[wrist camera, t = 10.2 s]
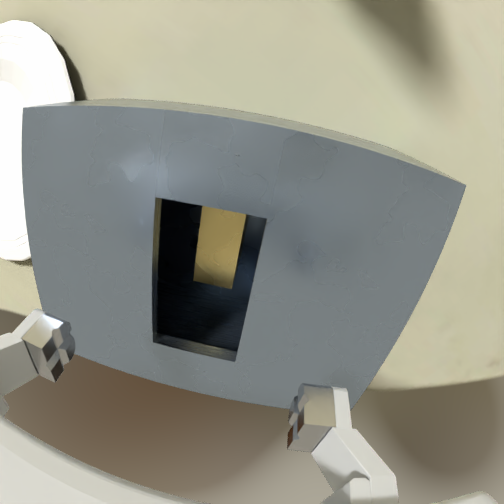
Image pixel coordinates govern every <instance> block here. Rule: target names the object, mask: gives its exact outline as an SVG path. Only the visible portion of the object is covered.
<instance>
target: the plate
mask: <svg viewBox="0 0 504 504" xmlns="http://www.w3.org/2000/svg"><path fill="white" fill-rule="evenodd" d="M72 101H76V100H75V92H74V89H73V86H72V82H71V79H70V75H69V71H68V68H67V64H66V60H65V59H64V57H63V55H62V54H61V52H60V50H59V48H58V47H57V45H56V43H55V42H54V40H53V38H52V37H51V35H49V34H48V33H46V32H45V31H44V30H42V29H41V28H40V27H38V26H37V25H36V24H34V23H32V22H25V21H17V20H12V21H9V22H5V23H2V24H0V258H2V259H5V260H13V261H24V260H27V259H29V258H31V254H30V248H29V241H28V234H27V227H26V219H25V209H24V198H23V184H22V151H21V147H22V114H23V108H24V107H30V106H37V105H45V104H53V103H62V102H72Z"/></svg>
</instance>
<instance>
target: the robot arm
mask: <svg viewBox="0 0 504 504" xmlns="http://www.w3.org/2000/svg"><path fill="white" fill-rule="evenodd" d="M71 330H72V328H71V325H70V322H67V321H65V320H63V319H61V318H58V317H56V316H54V315H52V314H49V313H47V312H45V311H42V310H40V309H35V310H33V311H32V312H31V313H30V314H29V315H28V316H27V317H26V319H25V320H24V321H23V322H22V323H21V324H20V325H19V326H18V327H17V328H16V329H15V331H14V332H13V333H12V334H11V333H6V334H4V335H1V336H0V504H208V503H204V502H199V501H195V500H190V499H186V498H182V497H178V496H175V495H171V494H167V493H164V492H160V491H157V490H154V489H151V488H148V487H145V486H141V485H139V484H136V483H133V482H130V481H127V480H124V479H122V478H119V477H116V476H114V475H111V474H109V473H106V472H104V471H102V470H99V469H97V468H95V467H92V466H90V465H88V464H86V463H84V462H81V461H79V460H77V459H75V458H73V457H71V456H69V455H67V454H65V453H63V452H61V451H59V450H57V449H55V448H54V447H52V446H50V445H48V444H46V443H45V442H42V441H41V440H39V439H38V438H36V437H34V436H32V435H31V434H29V433H27V432H26V431H24V430H23V429H21V428H20V427H18V426H16V425H15V424H13V423H12V422H10V421H9V420H7V419H6V418H4V415H5V414H6V412H7V411H8V409H9V406H8V404H7V402H6V401H5V399H4V398H3V396H4V395H5V394H7V393H9V392H11V391H12V390H14V389H16V388H18V387H19V386H21V385H23V384H25V383H26V382H28V381H30V380H32V379H33V378H35V377H37V376H38V375H41V376H43V377H45V378H47V379H49V380H51V381H53V382H56V381H57V379H58V378H59V376H60V375H61V374H62V372H63V371H64V368H63V365H64V364H66V363H68V362H70V360H71V359H72V357H73V355H74V352H75V340H74V338H73V336H72V335H71V334H70V332H71ZM288 422H289V424H290V425H291V429H290V430H289V432H288V441H287V449H288V450H295V451H303V452H312V453H311V454H312V456H313V458H314V459H315V461H316V463H317V464H318V466H319V468H320V469H321V471H322V473H323V475H324V476H325V478H326V480H327V481H328V483H329V485H330V486H331V488H332V490H333V491H334V493H333V494H332V495H331V496H329V497H328V498H326V499H325V500H324V501H322V502H321V503H320V504H399V499H398V491H397V483H396V476H395V474H394V473H393V472H392V471H391V470H390V468H388V466H387V465H386V464H385V463H384V462H383V460H382V459H381V458H380V457H379V456H378V454H377V453H376V452H375V451H374V449H373V448H372V447H371V446H370V445H369V443H368V442H367V441H366V440H365V439H364V437H363V436H362V435H361V434H360V433H359V431H358V430H357V429H353V428H352V421H351V413H350V405H349V398H348V391H347V389H346V388H339V387H331V386H323V385H315V384H307V383H302V384H301V385H300V387H299V388H298V395H297V396H295V397H294V399H293V401H292V403H291V406H290V411H289V420H288ZM431 504H499V503H497V502H496V501H495V500H494V499H493V498H492V497H491V496H490V495H488V494H487V493H486V492H484V491H478V492H474V493H470V494H467V495H463V496H460V497H456V498H452V499H448V500H444V501H440V502H436V503H431Z"/></svg>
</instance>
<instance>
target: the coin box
mask: <svg viewBox="0 0 504 504" xmlns="http://www.w3.org/2000/svg"><path fill="white" fill-rule="evenodd" d="M21 151H22V184H23V198H24V209H25V219H26V227H27V234H28V241H29V248H30V254H31V260H32V265H33V270H34V275H35V280H36V284H37V289H38V293H39V297H40V302H41V305H42V309H43V311H45V312H47V313H49V314H52V315H54V316H56V317H58V318H61V319H63V320H65V321H67V322H70V325H71V328H72V330H71V332H70V334H71V335H72V336H73V338H74V340H75V352H74V354H77V355H79V356H82V357H84V358H87V359H89V360H92V361H95V362H98V363H100V364H103V365H106V366H109V367H112V368H114V369H117V370H120V371H123V372H127V373H130V374H133V375H136V376H139V377H143V378H146V379H149V380H152V381H156V382H160V383H163V384H167V385H170V386H174V387H178V388H182V389H186V390H190V391H194V392H199V393H202V394H207V395H211V396H216V397H221V398H226V399H231V400H236V401H241V402H247V403H253V404H259V405H265V406H271V407H278V408H286V409H290V406H291V403H292V401H293V399H294V397H295V396H297V395H298V388H299V387H300V385H301V384H302V383H307V384H315V385H323V386H331V387H339V388H346V389H347V391H348V398H349V405H350V411H351V409H352V408H353V407H354V405H355V404H356V403H357V401H358V400H359V398H360V397H361V395H362V394H363V393H364V391H365V390H366V388H367V387H368V385H369V384H370V382H371V381H372V379H373V378H374V376H375V375H376V373H377V372H378V370H379V369H380V367H381V365H382V364H383V362H384V361H385V359H386V357H387V356H388V354H389V353H390V351H391V349H392V348H393V346H394V344H395V343H396V341H397V339H398V337H399V336H400V334H401V332H402V330H403V329H404V327H405V325H406V323H407V321H408V320H409V318H410V316H411V314H412V312H413V310H414V308H415V306H416V305H417V303H418V301H419V299H420V297H421V295H422V293H423V291H424V289H425V287H426V285H427V283H428V280H429V278H430V276H431V274H432V272H433V270H434V268H435V265H436V263H437V261H438V259H439V256H440V254H441V252H442V249H443V247H444V244H445V242H446V240H447V237H448V235H449V232H450V230H451V227H452V224H453V222H454V219H455V216H456V214H457V211H458V208H459V205H460V203H461V200H462V197H463V194H464V191H465V188H466V185H465V184H463V183H461V182H459V181H458V180H456V179H454V178H452V177H450V176H448V175H446V174H444V173H442V172H441V171H439V170H437V169H435V168H433V167H431V166H429V165H427V164H424V163H422V162H420V161H418V160H416V159H414V158H412V157H410V156H407V155H405V154H403V153H401V152H399V151H396V150H394V149H392V148H389V147H386V146H383V145H380V144H377V143H373V142H370V141H367V140H364V139H360V138H357V137H354V136H350V135H347V134H343V133H339V132H336V131H332V130H328V129H324V128H320V127H316V126H312V125H308V124H304V123H300V122H295V121H291V120H286V119H281V118H277V117H272V116H266V115H261V114H256V113H250V112H244V111H238V110H232V109H226V108H219V107H211V106H204V105H195V104H187V103H177V102H166V101H153V100H136V99H100V100H84V101H72V102H62V103H53V104H45V105H37V106H30V107H24V108H23V114H22V147H21ZM202 206H206V207H211V208H217V209H222V210H227V211H232V212H237V213H242V214H247V215H249V218H248V223H247V228H246V233H245V238H244V243H243V248H242V253H241V257H240V260H239V264H238V268H237V272H236V275H235V279H234V283H233V286H232V289H228V288H224V287H219V286H215V285H210V284H206V283H201V282H197V281H193V279H194V270H195V261H196V252H197V244H198V236H199V228H200V221H201V213H202Z"/></svg>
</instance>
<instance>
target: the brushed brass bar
mask: <svg viewBox="0 0 504 504" xmlns="http://www.w3.org/2000/svg"><path fill="white" fill-rule="evenodd" d="M248 218H249V215H247V214H242V213H237V212H232V211H227V210H222V209H217V208H211V207H206V206H202V213H201V221H200V228H199V236H198V244H197V252H196V261H195V270H194V279H193V281H197V282H201V283H206V284H210V285H215V286H219V287H224V288H228V289H232V286H233V283H234V279H235V275H236V272H237V268H238V264H239V260H240V257H241V253H242V248H243V243H244V238H245V233H246V228H247V223H248Z"/></svg>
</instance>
